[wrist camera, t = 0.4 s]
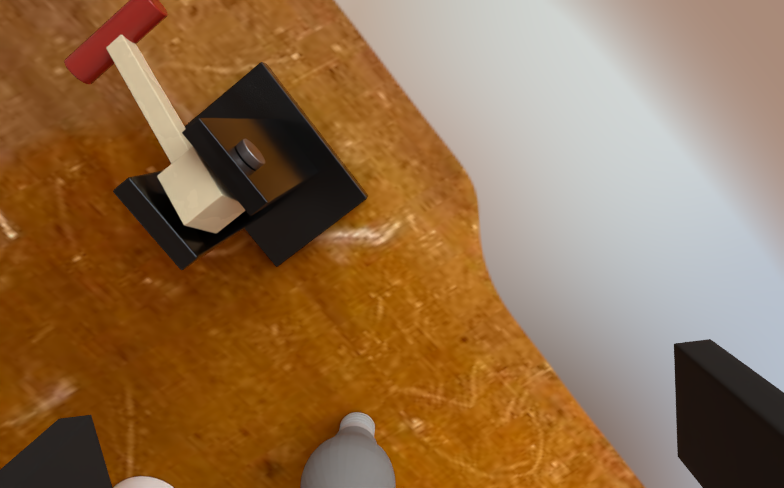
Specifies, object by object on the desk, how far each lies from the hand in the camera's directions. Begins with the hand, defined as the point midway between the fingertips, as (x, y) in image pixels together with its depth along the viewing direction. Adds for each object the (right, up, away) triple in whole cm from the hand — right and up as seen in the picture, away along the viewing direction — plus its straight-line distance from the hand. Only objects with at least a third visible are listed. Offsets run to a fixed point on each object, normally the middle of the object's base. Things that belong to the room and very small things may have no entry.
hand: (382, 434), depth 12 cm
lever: (-10, +10, +15) cm, 21 cm away
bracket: (-8, +10, +25) cm, 28 cm away
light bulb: (-2, -9, +30) cm, 31 cm away
